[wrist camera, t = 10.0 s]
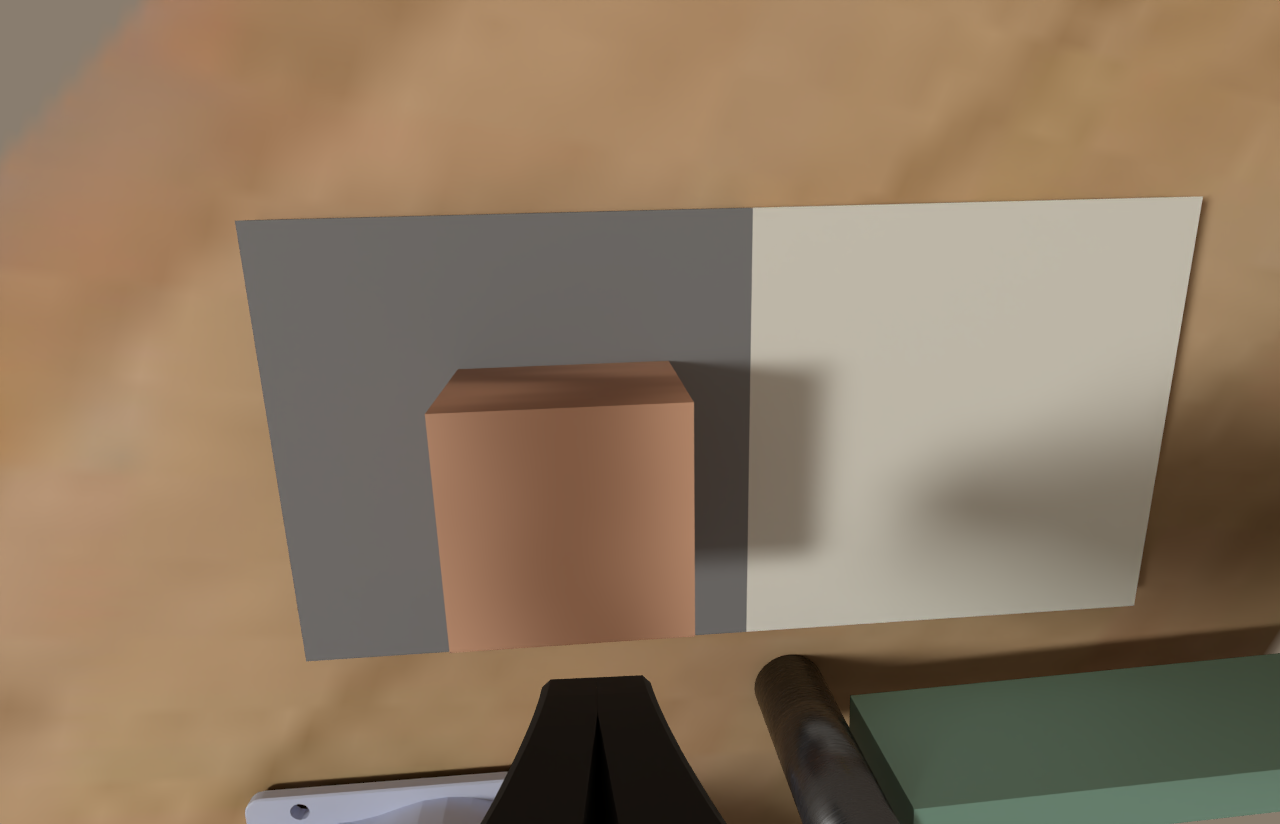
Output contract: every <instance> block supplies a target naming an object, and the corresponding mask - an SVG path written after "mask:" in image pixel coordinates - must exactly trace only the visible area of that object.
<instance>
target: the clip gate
mask: <svg viewBox="0 0 1280 824" xmlns="http://www.w3.org/2000/svg"><path fill="white" fill-rule="evenodd" d="M849 728H850V730H851V732H852V734H853V736H854V738H855V740H856V742H857V744H858V745H859V747H860V749H861V751H862V753H863V755H864V757H865V759H866V761H867V763H868V764H869V766H870V768H871V770H872V772H873V774H874V776H875V778H876V780H877V782H878V783H879V785H880V787H881V789H882V791H883V793H884V795H885V797H886V799H887V801H888V802H889V804H890V806H891V808H892V810H893V812H894V814H895V816H896V818H897V820H898V821H899V823H900V824H1174V823H1182V822H1191V821H1200V820H1209V819H1218V818H1227V817H1235V816H1244V815H1252V814H1262V813H1271V812H1279V811H1280V653H1278V654H1268V655H1258V656H1247V657H1237V658H1227V659H1217V660H1207V661H1197V662H1187V663H1176V664H1166V665H1156V666H1146V667H1136V668H1126V669H1116V670H1105V671H1095V672H1085V673H1075V674H1065V675H1055V676H1045V677H1034V678H1024V679H1014V680H1004V681H994V682H984V683H974V684H963V685H953V686H943V687H933V688H923V689H913V690H903V691H892V692H882V693H872V694H862V695H852V696H850V725H849Z"/></svg>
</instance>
